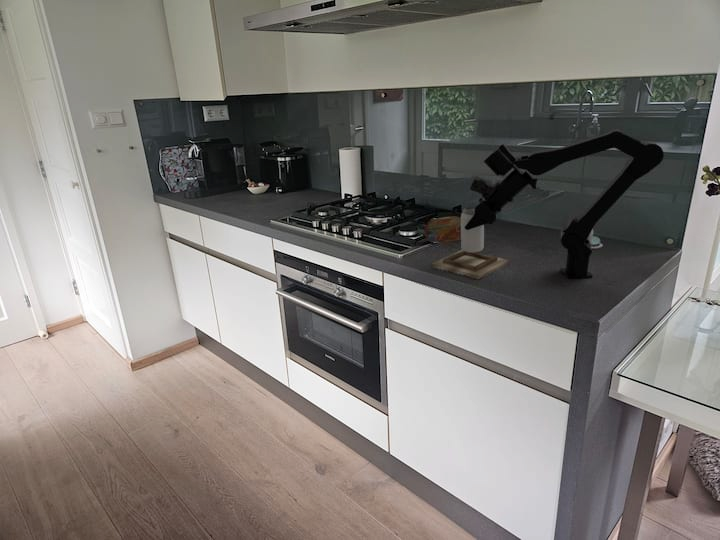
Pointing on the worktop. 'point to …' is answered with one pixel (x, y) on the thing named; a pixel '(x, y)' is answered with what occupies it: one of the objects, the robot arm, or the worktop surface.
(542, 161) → the robot arm
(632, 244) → the worktop surface
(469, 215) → the can
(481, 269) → the base plate
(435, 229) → the tin
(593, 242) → the pacifier
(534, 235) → the worktop surface
